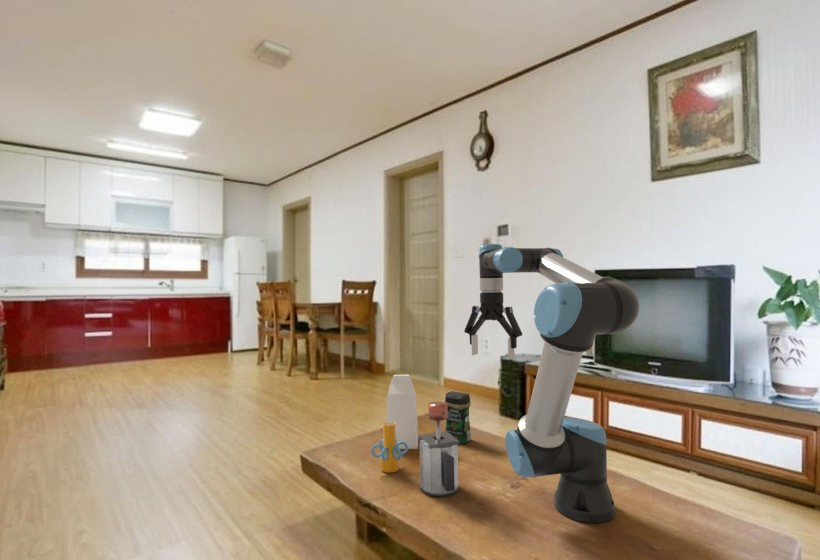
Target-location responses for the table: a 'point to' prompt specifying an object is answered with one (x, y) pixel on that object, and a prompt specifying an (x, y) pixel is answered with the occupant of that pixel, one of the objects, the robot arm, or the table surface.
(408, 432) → the milk
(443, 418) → the plunger
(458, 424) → the coffee jar
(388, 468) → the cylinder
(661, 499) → the table surface
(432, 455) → the press carafe
